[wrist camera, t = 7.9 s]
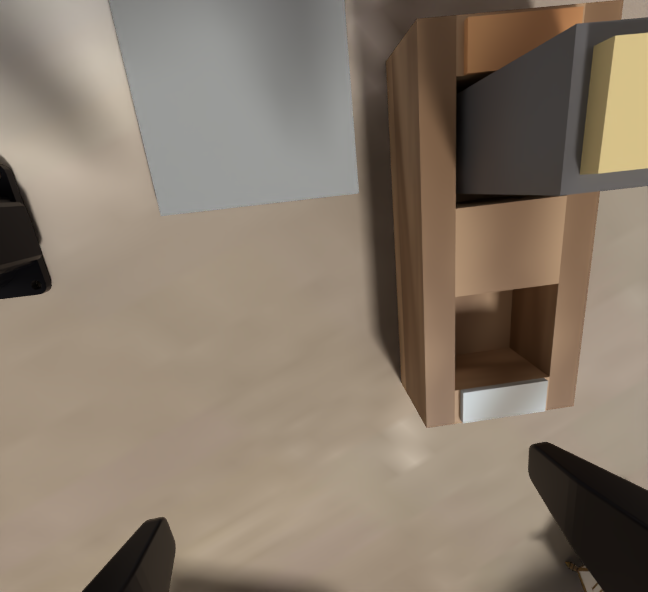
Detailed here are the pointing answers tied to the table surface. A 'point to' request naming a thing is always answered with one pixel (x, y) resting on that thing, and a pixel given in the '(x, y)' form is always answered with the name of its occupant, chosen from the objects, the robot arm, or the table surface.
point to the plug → (560, 116)
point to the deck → (240, 99)
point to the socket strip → (481, 234)
